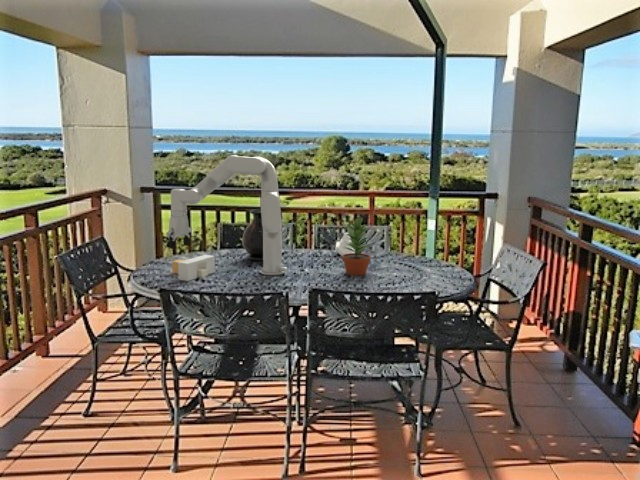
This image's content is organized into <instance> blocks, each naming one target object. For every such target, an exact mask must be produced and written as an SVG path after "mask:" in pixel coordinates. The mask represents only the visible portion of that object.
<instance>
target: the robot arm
mask: <svg viewBox="0 0 640 480" xmlns="http://www.w3.org/2000/svg"><path fill="white" fill-rule="evenodd" d="M237 174H238V175H251V176H253V175H254V176H259V177H260V178H259V179H260V180H259V181H260V189H261V190H260V191H261V198H260V209H261V216H262V226H263V261H262V268H261V269H260V270H259V271H260V272H259V273H260V274H261V275H266V276H279V275H282V274H285V273H286V272H287V271H288V266H284V263H283V262H282V261H283V259H282V258H283V256H282V254H283V253H282V252H283V251H282V249H283V248H282V245H283V244H282V243H283V241H282V238H283V237H282V236H283V235H282V234H283V233H282V231H283V230H282V229H283V221H282V211H281V198H280V193H279V183H278V174H277V171H276V168H275V166H274V165H273V164H272V163H271V161H269V160H268V159H266V158H265V157H262V156H240V155H236V154H231V155H229V156H226V158H225V159H224V160H223V161H222V162H220V163H219V164H218V165H217V166H215V167H214V168H212V170H211V171H209V172H208V174H207V175H206V176H205V177H204V178H203V179H202V180H201V181H200V182H199V183H197V184H196V185H194V186H193V188H191V189H184V188H172V189H171V190H170V217H169V223H168V231H167V232H166V233H165V235H166V237H167V240H168V241H169V248H170V249H171V250H176V249H177V247H176V245H177V244H176V238H178V237H183V246H185V247H186V246H187V247H188V246H190V238H191V235H192V231H193V228H192V227H190V226H189V218H188V215H187V214H188V208H187V207H188V206H187V205H193V206H194V205H197V204H199V203H200V202H201V201H202V200H204V199H205V198H207V196H208V195H210V194H211V193H212V192H214V190H216V189H218V188H219V187H221V186H222V185H224V184H225V183H226V182H227V181H229V180H230V179H231V178H232V177H233V176H235V175H237Z"/></svg>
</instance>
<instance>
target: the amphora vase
mask: <svg viewBox="0 0 640 480" xmlns="http://www.w3.org/2000/svg"><path fill="white" fill-rule="evenodd" d="M249 213H250V214H252V217H253V218H252V221H251V222H249V224H248V226H246V228H245V229H244V231H243V235H242V239H241V240H242V241H241V242H242V247H243V249H244V251H245V252H246V253H247V255H246V258H247V259H248V260H250V261H253V262H263V226H262V216H261V208H257V209H250V210H249Z"/></svg>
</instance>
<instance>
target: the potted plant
mask: <svg viewBox="0 0 640 480" xmlns="http://www.w3.org/2000/svg"><path fill="white" fill-rule="evenodd" d="M346 219H347V218H346ZM347 221H348V222H349V223H350V224H347V223H345V224H346V229H347V231H348V232H349V233H348V234H347V235H348V236H350V238H351V239H350V238H349V239H350V240H351V242H350V243H349V244H347V243H345V244H347V245H349V246H351V247H352V248H353V249H354V250H355V251H354V250H353V249H350V248H347V247H343V248H346V249H348V250H351V251H354V252H355V253H350V254H344V255H343V256H342V260H343V263H344V269H345V272H346V274H347V275H349V276H363V275H364V276H365V275H366V274H367V272H368V271H367V270H368V267H369V264H370V262H371V255H369V254H367V253H363V252H364V249H365V248H368V247H369V245H365V243H364V242H365V241H366V240H368V239H369V236H368V237H364V238H363V239H362V237H363V236H364V235H365V234H366V233H365V232H366V231H367V230H369V228H370V227H367V226H368V225H369V224H364V225H362V222H363V217H358V218H355V220H354V222H353V221H352V220H350V219H347ZM362 243H364V244H362Z"/></svg>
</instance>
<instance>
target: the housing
mask: <svg viewBox="0 0 640 480" xmlns="http://www.w3.org/2000/svg"><path fill="white" fill-rule="evenodd" d="M215 259H216V258H215V255H209V254H204V255H201V256H200V255H199V256H196V257H192V258H188V259H184V260H185V261H181V262H178V273H179V274H178V280H181V281H186V282H187V281H188V282H189V281H192V280H195V279H197V278H198V277H197V268H202V269H207V276H208V275H210V274H211V275H212V274H214V273H216V261H215Z"/></svg>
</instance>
